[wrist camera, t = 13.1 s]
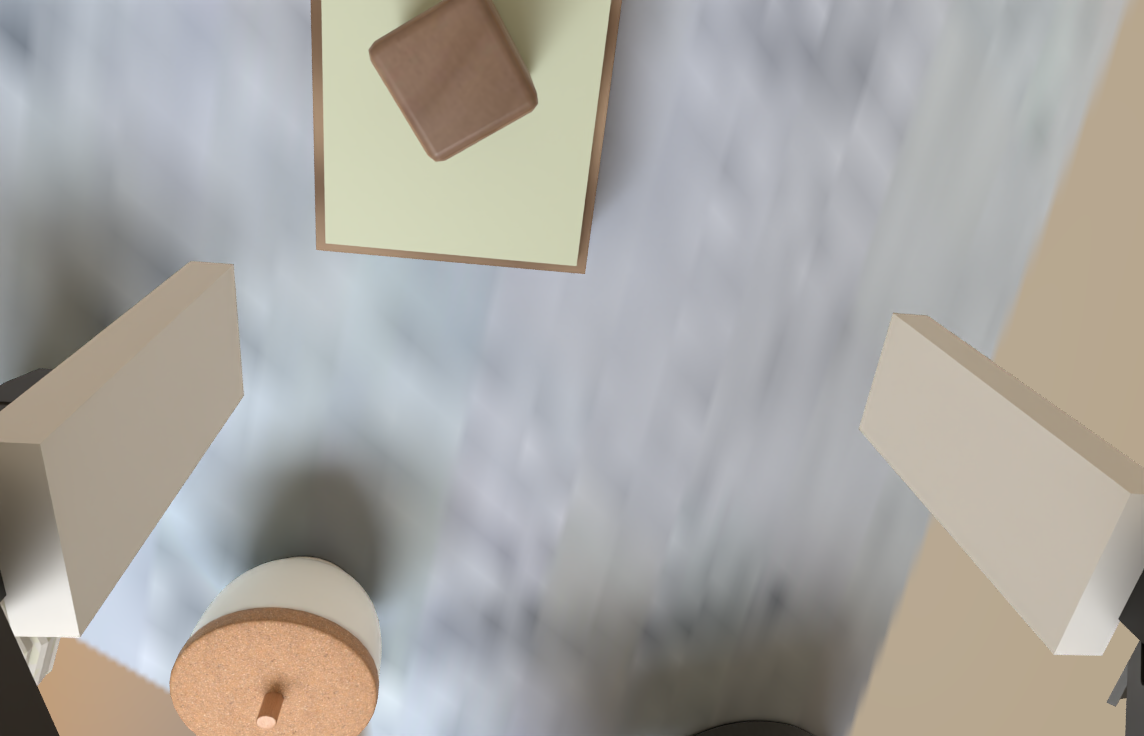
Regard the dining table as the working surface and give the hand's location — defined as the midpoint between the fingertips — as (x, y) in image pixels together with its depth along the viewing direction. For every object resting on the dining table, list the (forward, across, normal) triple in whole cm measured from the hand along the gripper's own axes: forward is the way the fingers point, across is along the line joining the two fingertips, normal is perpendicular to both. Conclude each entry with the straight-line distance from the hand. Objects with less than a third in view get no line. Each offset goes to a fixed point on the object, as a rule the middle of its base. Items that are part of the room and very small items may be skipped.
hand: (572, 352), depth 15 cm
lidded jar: (+25, +12, +28) cm, 39 cm away
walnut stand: (+24, +3, -5) cm, 25 cm away
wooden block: (+19, +3, -4) cm, 20 cm away
